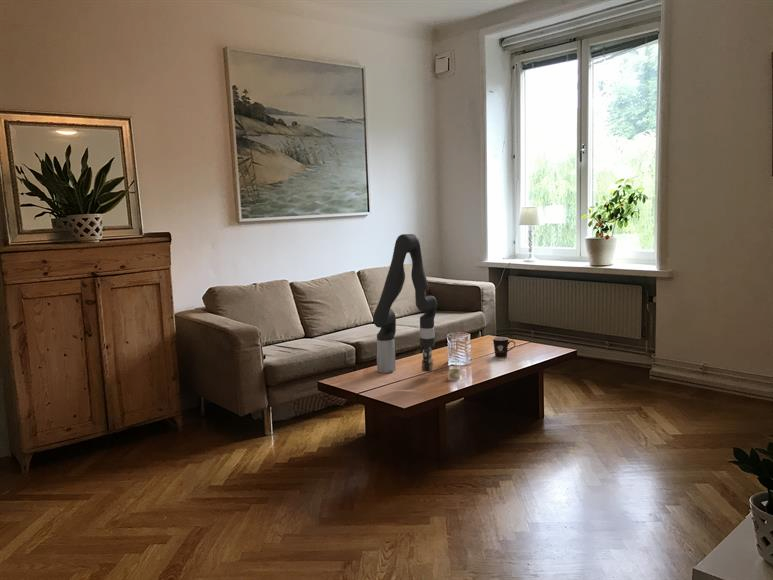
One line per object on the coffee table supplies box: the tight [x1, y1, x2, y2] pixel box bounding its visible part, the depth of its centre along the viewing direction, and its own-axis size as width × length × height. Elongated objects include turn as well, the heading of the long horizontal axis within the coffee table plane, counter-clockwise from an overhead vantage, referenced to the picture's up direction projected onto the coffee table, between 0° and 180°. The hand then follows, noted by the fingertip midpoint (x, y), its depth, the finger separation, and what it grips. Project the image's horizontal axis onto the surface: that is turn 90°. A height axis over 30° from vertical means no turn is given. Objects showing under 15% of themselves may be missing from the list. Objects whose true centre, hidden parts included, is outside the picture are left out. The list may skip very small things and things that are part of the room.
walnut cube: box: [421, 358, 434, 373], centre depth 314 cm, size 5×5×5 cm
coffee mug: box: [492, 336, 516, 358], centre depth 352 cm, size 12×9×10 cm
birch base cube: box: [448, 365, 461, 379], centre depth 311 cm, size 5×5×5 cm
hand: (427, 369), depth 314 cm, fingers closed on walnut cube, 5 cm apart
